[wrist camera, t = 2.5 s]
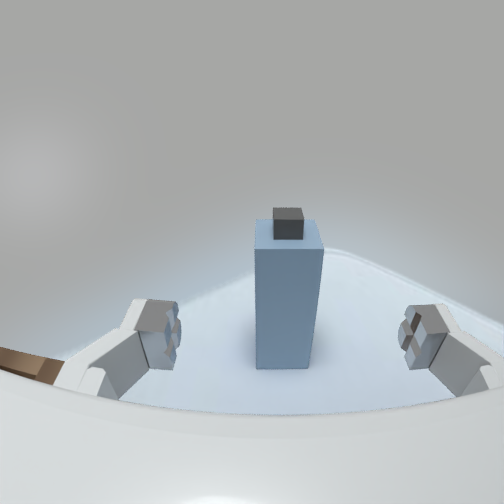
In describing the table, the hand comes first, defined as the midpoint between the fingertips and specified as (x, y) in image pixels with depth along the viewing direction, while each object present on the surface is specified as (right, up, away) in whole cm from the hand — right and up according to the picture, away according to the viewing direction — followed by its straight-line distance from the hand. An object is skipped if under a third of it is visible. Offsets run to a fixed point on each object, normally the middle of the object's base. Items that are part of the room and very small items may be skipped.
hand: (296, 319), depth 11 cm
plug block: (+1, -7, +18) cm, 19 cm away
